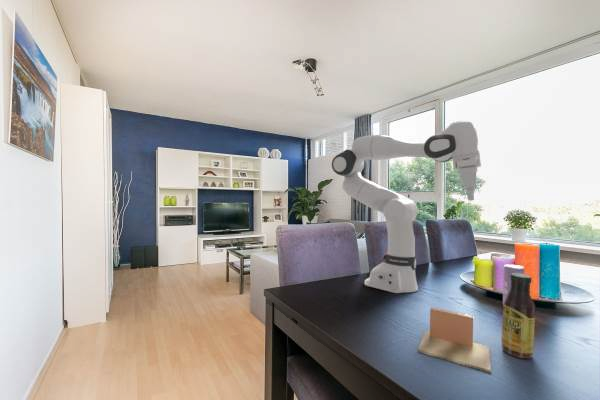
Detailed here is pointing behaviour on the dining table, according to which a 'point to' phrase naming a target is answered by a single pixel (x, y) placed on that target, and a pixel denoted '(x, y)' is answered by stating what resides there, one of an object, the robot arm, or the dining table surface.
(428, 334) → the oak board
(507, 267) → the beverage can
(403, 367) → the dining table surface
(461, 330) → the tile
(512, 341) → the sauce bottle
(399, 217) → the robot arm
